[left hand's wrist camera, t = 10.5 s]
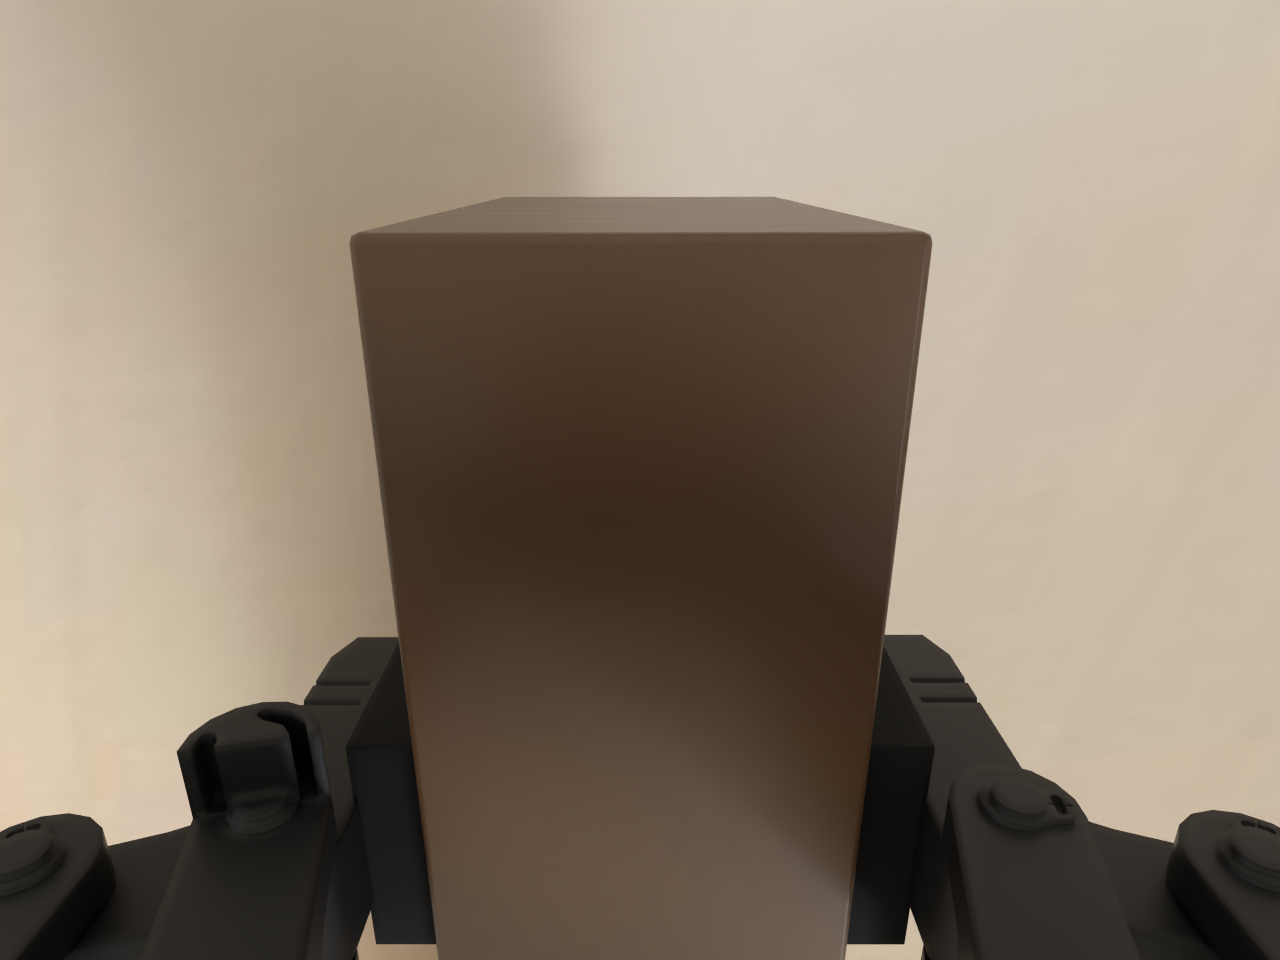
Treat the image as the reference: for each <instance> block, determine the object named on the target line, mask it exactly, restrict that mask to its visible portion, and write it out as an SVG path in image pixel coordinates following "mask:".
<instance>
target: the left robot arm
mask: <svg viewBox="0 0 1280 960" xmlns="http://www.w3.org/2000/svg"><path fill="white" fill-rule="evenodd" d="M177 755H178V759H179V763H180V767H181V771H182V775H183V779H184V783H185V788H186V792H187V796H188V800H189V804H190V808H191V812H192V816H193V821H192V823H191V825H190V826H187V827H184V828H180V829H177V830H174V831H171V832H167V833H163V834H159V835H154V836H150V837H146V838H141V839H137V840H133V841H128V842H124V843H120V844H115V845H111V846H107V842H106V839H105V835H104V832H103V829H102V827H101V826H99V825H98V824H97V823H96V822H95V821H94V820H93V819H92V818H90V817H86V816H81V815H75V814H70V813H68V814H59V815H51V816H43V817H39V818H36V819H32V820H29V821H26V822H23V823H20V824H17V825H14V826H11V827H9V828H7V829H5V830H3V831H1V832H0V960H359V957H358V951H357V946H358V943H359V941H360V938H361V935H362V932H363V930H364V927H365V924H366V921H367V919H368V916H369V913H370V910H371V914H372V920H373V927H374V933H375V939H376V944H436V936H435V928H434V920H433V911H432V903H431V895H430V887H429V879H428V871H427V863H426V855H425V847H424V839H423V831H422V823H421V815H420V807H419V799H418V791H417V783H416V775H415V767H414V759H413V750H412V742H411V734H410V726H409V718H408V710H407V702H406V694H405V686H404V678H403V670H402V662H401V654H400V646H399V638H398V637H358V638H357V639H355V640H354V641H353V642H351V643H350V644H349V645H347V646H346V647H345V648H343V649H342V650H341V651H339V652H338V653H337V654H335V655H334V656H333V657H331V659H330V660H329V662H328V663H327V665H326V666H325V668H324V670H323V671H322V673H321V674H320V676H319V678H318V679H317V681H316V686H313V687H312V689H311V690H310V692H309V693H308V695H307V697H306V698H305V700H304V705H297V704H294V703H290V702H262V703H257V704H253V705H249V706H244V707H240V708H236V709H233V710H231V711H229V712H227V713H224V714H222V715H220V716H218V717H215V718H213V719H211V720H209V721H208V722H206V723H205V724H204V725H202V726H201V727H200V728H198V729H197V730H195V731H194V732H193V733H191V734H190V735H189V736H188V737H187V739H186V740H185V741H184V743H183V744H182V745H181V747H180V748H179V749H178V751H177ZM910 908H911V911H912V913H913V916H914V919H915V922H916V924H917V927H918V930H919V932H920V935H921V938H922V941H923V943H924V945H923V951H922V957H921V960H1280V828H1279V827H1277V826H1276V825H1274V824H1272V823H1268V822H1265V821H1262V820H1260V819H1256V818H1253V817H1250V816H1247V815H1244V814H1241V813H1233V812H1225V811H1217V810H1210V811H1205V812H1199V813H1194V814H1191V815H1190V816H1189V817H1187V818H1186V819H1185V820H1184V821H1183V822H1182V823H1181V824H1180V825H1179V828H1178V831H1177V834H1176V838H1175V841H1174V843H1171V842H1167V841H1162V840H1158V839H1154V838H1149V837H1145V836H1141V835H1136V834H1132V833H1128V832H1123V831H1119V830H1115V829H1111V828H1108V827H1105V826H1101V825H1098V824H1095V823H1092V822H1089V821H1088V819H1087V817H1086V815H1085V814H1084V812H1083V811H1082V809H1081V808H1080V806H1079V805H1078V803H1077V802H1076V800H1075V799H1074V798H1073V797H1072V796H1070V795H1069V794H1068V793H1067V792H1065V791H1064V790H1063V789H1062V788H1061V787H1059V786H1058V785H1057V784H1056V783H1054V782H1052V781H1050V780H1048V779H1046V778H1044V777H1042V776H1040V775H1038V774H1036V773H1034V772H1032V771H1029V770H1025V769H1022V768H1021V766H1020V765H1019V763H1018V762H1017V760H1016V759H1015V757H1014V755H1013V754H1012V752H1011V751H1010V749H1009V748H1008V746H1007V744H1006V743H1005V741H1004V740H1003V738H1002V737H1001V735H1000V733H999V732H998V730H997V729H996V727H995V726H994V724H993V722H992V721H991V719H990V718H989V716H988V715H987V713H986V711H985V710H984V708H983V707H982V705H981V704H980V703H977V697H976V696H975V694H974V693H973V691H972V689H971V688H970V686H969V685H968V683H965V681H964V677H963V675H962V674H961V672H960V670H959V669H958V667H957V666H956V664H955V663H954V661H953V659H952V658H951V656H950V655H949V654H948V653H946V652H945V651H944V650H942V649H941V648H939V647H938V646H937V645H935V644H934V643H933V642H931V641H930V640H929V639H927V638H926V637H925V636H923V635H884V643H883V651H882V660H881V668H880V676H879V684H878V692H877V701H876V709H875V717H874V725H873V733H872V741H871V750H870V758H869V766H868V774H867V782H866V791H865V799H864V807H863V815H862V823H861V832H860V840H859V848H858V856H857V864H856V872H855V881H854V889H853V897H852V905H851V913H850V922H849V930H848V938H847V944H904V942H905V936H906V930H907V923H908V917H909V910H910Z"/></svg>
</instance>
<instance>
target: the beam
mask: <svg viewBox="0 0 1280 960" xmlns="http://www.w3.org/2000/svg"><path fill="white" fill-rule="evenodd" d="M931 250H932V239H931V236H930V235H929V234H927V233H925V232H922V231H918V230H914V229H909V228H905V227H901V226H896V225H892V224H888V223H884V222H879V221H875V220H871V219H866V218H862V217H858V216H854V215H849V214H845V213H841V212H836V211H832V210H828V209H823V208H819V207H815V206H811V205H806V204H802V203H798V202H793V201H789V200H785V199H781V198H776V197H505V198H500V199H496V200H492V201H488V202H484V203H480V204H476V205H471V206H467V207H463V208H459V209H455V210H451V211H447V212H442V213H438V214H434V215H430V216H426V217H422V218H418V219H413V220H409V221H405V222H401V223H397V224H393V225H389V226H384V227H380V228H376V229H372V230H368V231H364V232H360V233H357V234H355V235H353V236H352V237H351V240H350V251H351V259H352V267H353V275H354V284H355V292H356V300H357V308H358V316H359V324H360V332H361V340H362V348H363V356H364V364H365V372H366V380H367V388H368V396H369V404H370V412H371V420H372V428H373V436H374V445H375V453H376V461H377V469H378V477H379V485H380V493H381V501H382V509H383V517H384V525H385V533H386V541H387V549H388V557H389V565H390V573H391V581H392V589H393V597H394V606H395V614H396V622H397V630H398V638H399V646H400V654H401V662H402V670H403V678H404V686H405V694H406V702H407V710H408V718H409V726H410V734H411V742H412V750H413V759H414V767H415V775H416V783H417V791H418V799H419V807H420V815H421V823H422V831H423V839H424V847H425V855H426V863H427V871H428V879H429V887H430V895H431V903H432V911H433V920H434V928H435V936H436V944H437V952H438V960H845V954H846V946H847V938H848V930H849V922H850V913H851V905H852V897H853V889H854V881H855V872H856V864H857V856H858V848H859V840H860V832H861V823H862V815H863V807H864V799H865V791H866V782H867V774H868V766H869V758H870V750H871V741H872V733H873V725H874V717H875V709H876V701H877V692H878V684H879V676H880V668H881V660H882V651H883V643H884V635H885V627H886V619H887V611H888V602H889V594H890V586H891V578H892V570H893V561H894V553H895V545H896V537H897V529H898V520H899V512H900V504H901V496H902V488H903V480H904V471H905V463H906V455H907V447H908V439H909V430H910V422H911V414H912V406H913V398H914V389H915V381H916V373H917V365H918V357H919V349H920V340H921V332H922V324H923V316H924V308H925V299H926V291H927V283H928V275H929V267H930V258H931Z"/></svg>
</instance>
